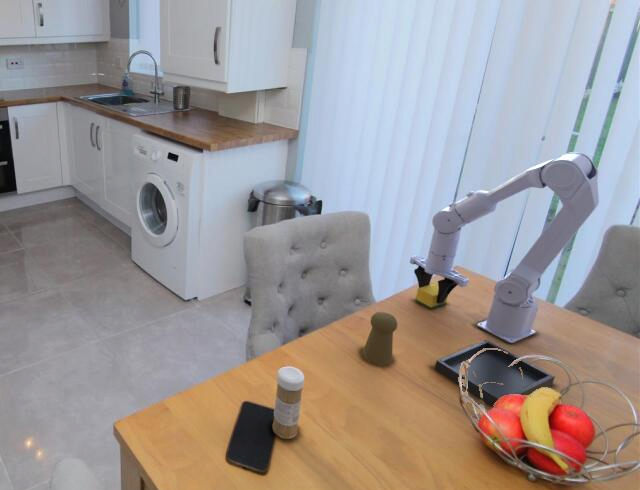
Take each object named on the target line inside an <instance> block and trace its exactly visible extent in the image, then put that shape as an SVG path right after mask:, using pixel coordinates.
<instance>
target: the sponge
mask: <svg viewBox="0 0 640 490" xmlns="http://www.w3.org/2000/svg"><path fill="white" fill-rule="evenodd" d="M438 289H439V287H438V284H436V283H430V284H429V285H427V286H424V287H421V288H419V287H418V288H417V291H416V292H417V293H416V296H415V300H414V301H415V302H416V303H418V304H420V305H422V306H423V307H425V308H427V309H429V310H433V309H435V308H437V307H440V306H444V305H446V304H447V301H448V296H449V295H448V296H447V298H446V299H445V301H444V302H443V303H440V304H438V303H437V296H438Z"/></svg>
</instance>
